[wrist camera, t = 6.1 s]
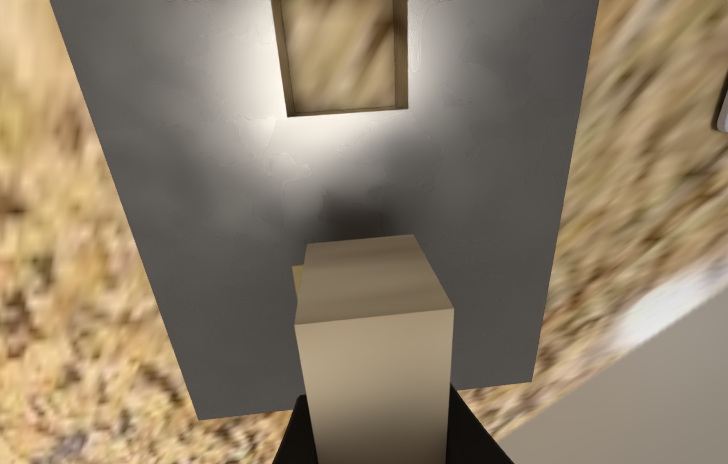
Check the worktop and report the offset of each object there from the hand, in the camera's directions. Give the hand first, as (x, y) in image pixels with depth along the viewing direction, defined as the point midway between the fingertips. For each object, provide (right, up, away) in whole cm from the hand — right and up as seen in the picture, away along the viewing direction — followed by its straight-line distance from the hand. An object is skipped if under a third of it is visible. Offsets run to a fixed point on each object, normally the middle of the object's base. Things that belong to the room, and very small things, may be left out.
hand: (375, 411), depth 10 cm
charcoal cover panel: (-1, +7, +5) cm, 9 cm away
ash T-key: (0, +1, +4) cm, 4 cm away
